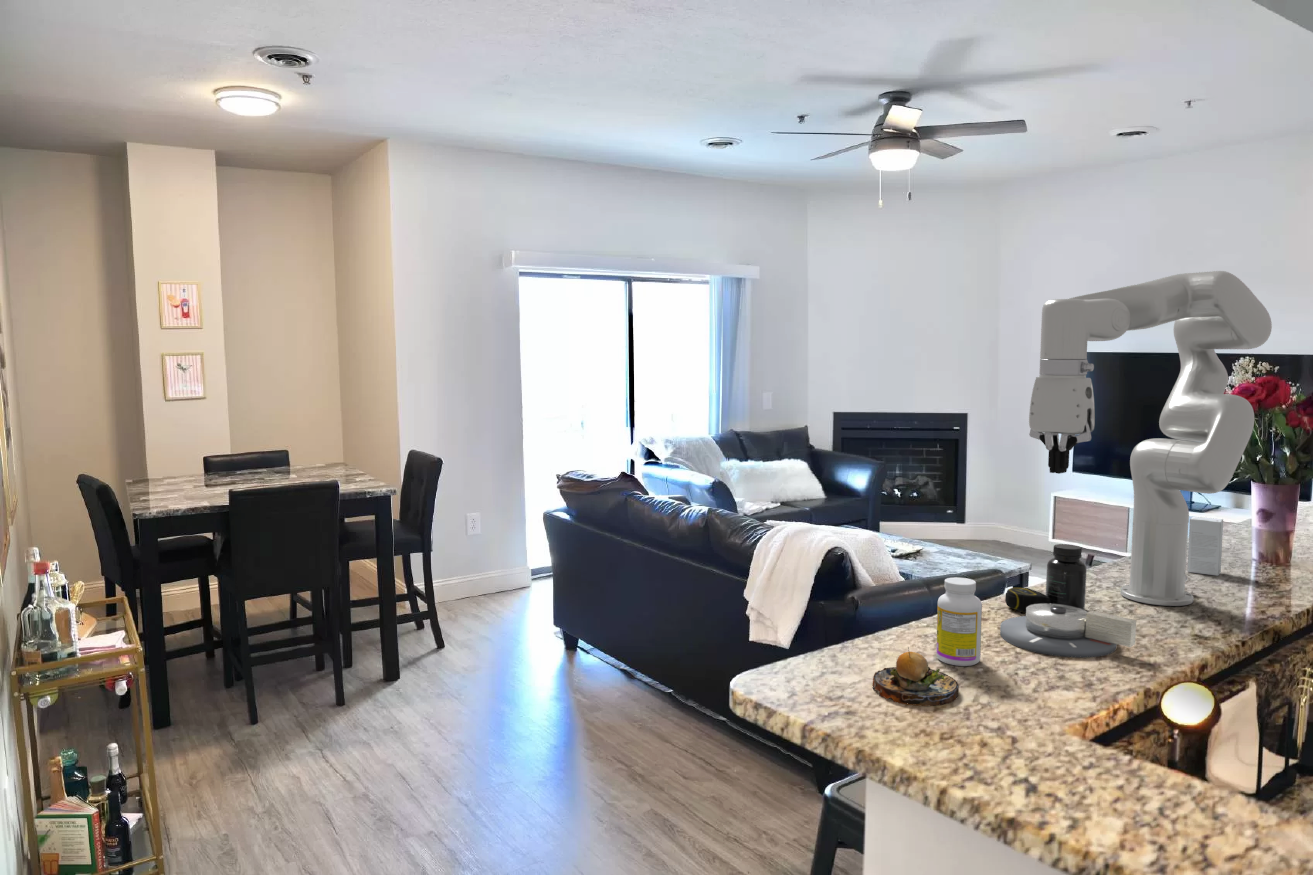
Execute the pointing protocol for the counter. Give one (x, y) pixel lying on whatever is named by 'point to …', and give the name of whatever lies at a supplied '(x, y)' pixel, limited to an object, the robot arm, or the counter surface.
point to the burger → (915, 682)
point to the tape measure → (1024, 598)
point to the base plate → (1052, 641)
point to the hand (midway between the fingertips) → (1058, 472)
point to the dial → (1079, 624)
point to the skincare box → (1205, 545)
